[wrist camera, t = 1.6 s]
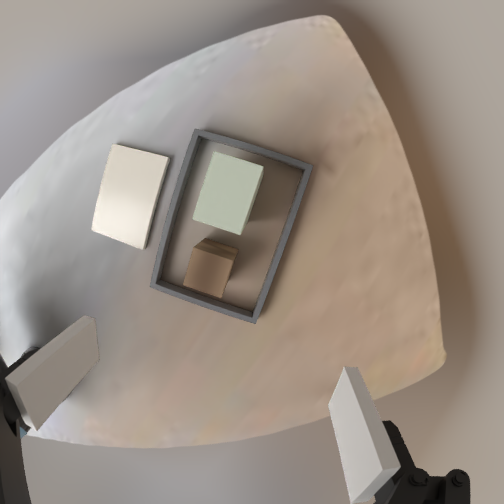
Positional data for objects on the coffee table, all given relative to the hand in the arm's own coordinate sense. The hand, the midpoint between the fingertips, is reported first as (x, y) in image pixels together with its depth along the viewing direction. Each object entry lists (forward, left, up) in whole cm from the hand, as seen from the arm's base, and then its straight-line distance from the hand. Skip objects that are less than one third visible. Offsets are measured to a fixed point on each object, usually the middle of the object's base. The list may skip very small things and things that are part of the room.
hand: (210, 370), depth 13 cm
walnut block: (-4, -2, -28) cm, 28 cm away
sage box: (-4, +8, -28) cm, 29 cm away
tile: (-20, +3, -28) cm, 34 cm away
